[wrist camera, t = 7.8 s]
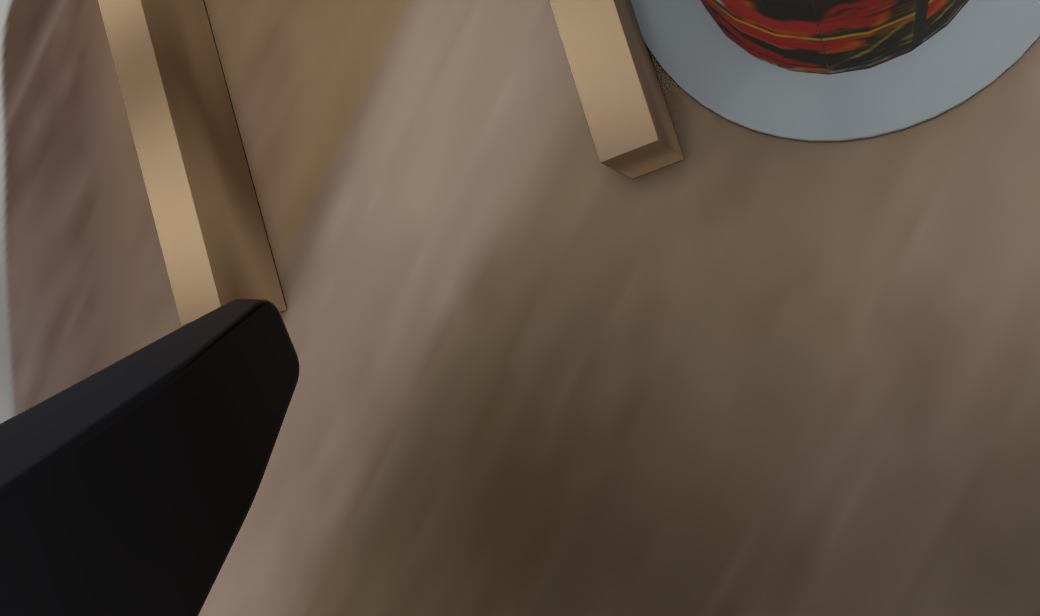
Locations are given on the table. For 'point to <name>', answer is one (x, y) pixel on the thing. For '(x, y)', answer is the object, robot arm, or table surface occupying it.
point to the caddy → (221, 159)
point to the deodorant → (831, 30)
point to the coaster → (843, 96)
